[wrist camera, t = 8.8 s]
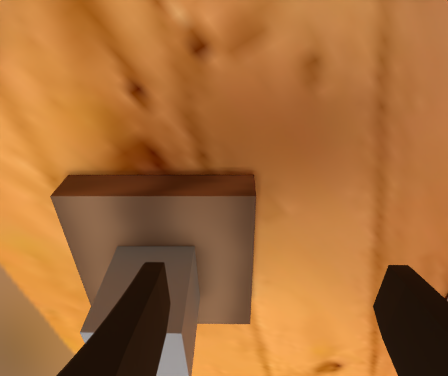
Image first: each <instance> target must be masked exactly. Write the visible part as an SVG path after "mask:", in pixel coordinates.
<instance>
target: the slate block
mask: <svg viewBox="0 0 448 376" xmlns="http://www.w3.org/2000/svg"><path fill="white" fill-rule="evenodd" d="M145 262H164V263H165V269H166V276H167V282H168V289H169V295H170V302H171V304H170V312H169V320H168V327H167V334H166V338H165V342H164V346H163V350H162V355H161V359H160V363H159V367H158V371H157V375H156V376H191V374H192V365H193V356H194V347H195V338H196V329H197V319H198V310H199V301H200V293H199V284H198V274H197V265H196V256H195V246H117V249H116V251H115V253H114V255H113V258H112V260H111V262H110V265H109V267H108V269H107V272H106V274H105V276H104V278H103V281H102V283H101V285H100V288H99V290H98V292H97V295H96V297H95V299H94V301H93V304H92V306H91V308H90V311H89V313H88V315H87V318H86V320H85V322H84V324H83V327H82V329H81V331H80V334H81V336H82V338H83V340H84V342H85V343H86V342H87V340H88V339H89V338H90V337H91V336H92V334H93V333H94V332H95V331H96V329H97V328H98V327H99V326H100V325H101V323H102V322H103V321H104V319H105V318H106V317H107V315H108V314H109V313H110V311H111V310H112V309H113V307H114V306H115V305H116V303H117V302H118V301H119V299H120V298H121V296H122V295H123V294H124V292H125V291H126V289H127V288H128V286H129V285H130V284H131V282H132V281H133V279H134V278H135V276H136V275H137V273H138V271H139V270H140V268H141V267H142V265H143V264H144V263H145Z"/></svg>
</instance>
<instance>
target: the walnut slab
mask: <svg viewBox="0 0 448 376" xmlns="http://www.w3.org/2000/svg"><path fill="white" fill-rule="evenodd" d="M51 199H52V202H53V205H54V207H55V210H56V213H57V215H58V218H59V221H60V223H61V226H62V229H63V232H64V234H65V237H66V240H67V242H68V245H69V248H70V250H71V253H72V256H73V258H74V261H75V264H76V267H77V269H78V272H79V275H80V277H81V280H82V283H83V285H84V288H85V291H86V294H87V296H88V299H89V302H90V304H91V306H92V304H93V301H94V299H95V297H96V295H97V292H98V290H99V288H100V285H101V283H102V281H103V278H104V276H105V274H106V272H107V269H108V267H109V265H110V262H111V260H112V258H113V255H114V253H115V251H116V249H117V246H195V256H196V265H197V274H198V284H199V293H200V301H199V310H198V319H197V324H250V315H251V294H252V273H253V251H254V230H255V209H256V191H255V182H254V175H68V176H67V177H66V178H65V180H64V181H63V182H62V183H61V184H60V186H59V187H58V188H57V189H56V190H55V191H54V193H53V194H52V195H51Z"/></svg>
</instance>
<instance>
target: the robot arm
mask: <svg viewBox="0 0 448 376" xmlns="http://www.w3.org/2000/svg"><path fill="white" fill-rule="evenodd" d="M170 304H171V302H170V295H169V289H168V282H167V276H166V269H165V263H164V262H145V263H144V264H143V265H142V267H141V268H140V270H139V271H138V273H137V275H136V276H135V278H134V279H133V281H132V282H131V284H130V285H129V286H128V288H127V289H126V291H125V292H124V294H123V295H122V296H121V298H120V299H119V301H118V302H117V303H116V305H115V306H114V307H113V309H112V310H111V311H110V313H109V314H108V315H107V317H106V318H105V319H104V321H103V322H102V323H101V325H100V326H99V327H98V328H97V329H96V331H95V332H94V333H93V334H92V336H91V337H90V338H89V339H88V340H87V342H86V343H85V344H84V345H83V347H82V348H81V349H80V350H79V351H78V352H77V353H76V355H75V356H74V357H73V358H72V359H71V360H70V361H69V363H68V364H67V365H66V366H65V367H64V368H63V369H62V370H61V371H60V372H59V373H58V375H57V376H156V375H157V371H158V367H159V363H160V359H161V355H162V350H163V346H164V342H165V338H166V334H167V327H168V320H169V312H170ZM373 308H374V311H375V315H376V319H377V322H378V326H379V329H380V332H381V335H382V339H383V341H384V343H385V346H386V348H387V351H388V353H389V355H390V358H391V360H392V362H393V365H394V367H395V369H396V372H397V374H398V376H448V299H447V300H446V299H445V298H444V297H443V296H441V295H440V294H439V293H438V292H437V291H436V290H435V289H434V288H433V287H432V286H431V285H429V284H428V283H427V282H426V281H425V280H424V279H423V278H422V277H421V276H420V275H419V274H417V273H416V272H415V271H414V270H413V269H412V268H411V267H409V266H408V265H389V266H388V268H387V271H386V274H385V276H384V279H383V281H382V284H381V287H380V289H379V292H378V295H377V297H376V300H375V303H374V305H373Z"/></svg>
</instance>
